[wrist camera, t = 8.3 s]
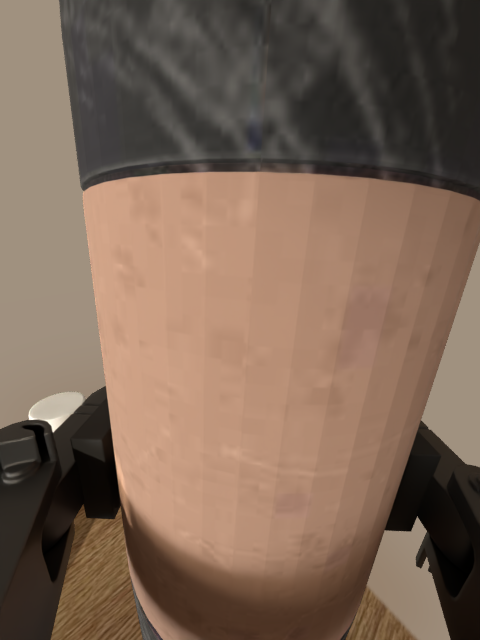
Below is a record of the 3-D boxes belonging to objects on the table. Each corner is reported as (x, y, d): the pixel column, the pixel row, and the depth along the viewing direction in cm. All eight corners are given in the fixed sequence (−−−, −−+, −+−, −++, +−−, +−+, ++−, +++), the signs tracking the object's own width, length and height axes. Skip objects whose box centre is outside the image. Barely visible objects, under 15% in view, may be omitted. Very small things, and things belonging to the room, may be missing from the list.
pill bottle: (27, 511, 18) (1, 428, 15) (59, 460, 22) (43, 388, 19) (91, 503, 18) (76, 422, 16) (110, 456, 23) (101, 386, 20)
